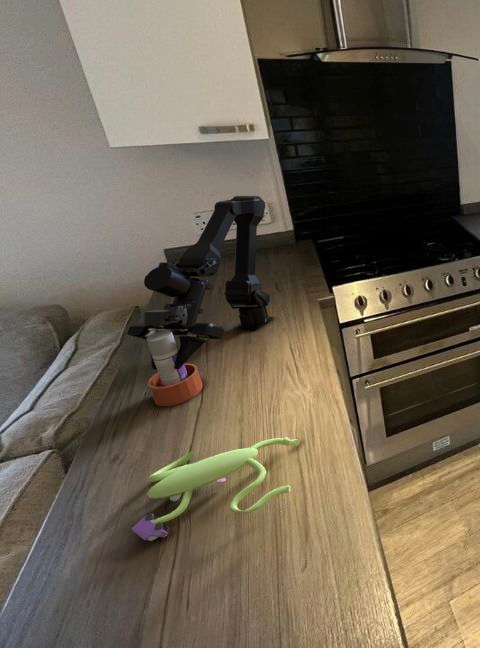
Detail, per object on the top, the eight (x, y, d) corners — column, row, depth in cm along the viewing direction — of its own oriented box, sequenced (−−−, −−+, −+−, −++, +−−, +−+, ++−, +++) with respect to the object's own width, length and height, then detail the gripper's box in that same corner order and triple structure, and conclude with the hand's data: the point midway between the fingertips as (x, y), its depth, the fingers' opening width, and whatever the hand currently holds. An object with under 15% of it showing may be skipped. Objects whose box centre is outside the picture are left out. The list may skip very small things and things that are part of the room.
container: (182, 380, 106) (163, 328, 101) (196, 385, 105) (177, 331, 99) (161, 393, 102) (140, 339, 96) (175, 397, 101) (154, 343, 95)
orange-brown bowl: (183, 377, 109) (177, 360, 107) (212, 383, 107) (206, 366, 105) (144, 402, 100) (137, 384, 99) (175, 409, 98) (168, 391, 97)
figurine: (286, 526, 73) (279, 502, 71) (101, 557, 68) (87, 532, 66) (316, 441, 90) (311, 420, 88) (169, 461, 85) (160, 439, 83)
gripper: (118, 293, 98) (91, 364, 92) (202, 293, 98) (180, 364, 92) (157, 306, 108) (135, 371, 102) (233, 305, 109) (215, 370, 103)
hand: (165, 369), depth 100 cm, fingers closed on container, 4 cm apart
